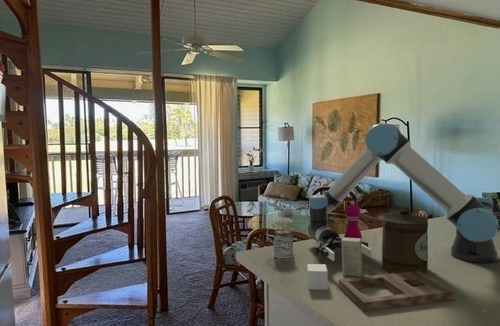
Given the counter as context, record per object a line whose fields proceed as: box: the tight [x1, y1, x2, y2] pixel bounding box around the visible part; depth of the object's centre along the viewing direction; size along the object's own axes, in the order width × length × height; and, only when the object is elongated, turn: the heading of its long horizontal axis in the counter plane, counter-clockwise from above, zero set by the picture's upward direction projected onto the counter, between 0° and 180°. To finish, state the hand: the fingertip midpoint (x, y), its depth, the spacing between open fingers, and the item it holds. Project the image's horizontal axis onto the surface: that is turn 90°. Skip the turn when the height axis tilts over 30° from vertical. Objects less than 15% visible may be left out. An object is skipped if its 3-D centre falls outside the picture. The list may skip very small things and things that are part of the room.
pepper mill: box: [343, 200, 363, 240], centre depth 150 cm, size 7×7×20 cm
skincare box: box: [341, 237, 363, 277], centre depth 121 cm, size 6×4×12 cm
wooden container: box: [381, 206, 429, 275], centre depth 124 cm, size 15×15×22 cm
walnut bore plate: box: [338, 271, 456, 312], centre depth 105 cm, size 28×16×2 cm, turn 100°
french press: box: [265, 193, 296, 259], centre depth 143 cm, size 10×12×25 cm
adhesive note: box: [306, 263, 329, 291], centre depth 113 cm, size 6×6×6 cm
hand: (352, 255), depth 120 cm, fingers open, 13 cm apart
